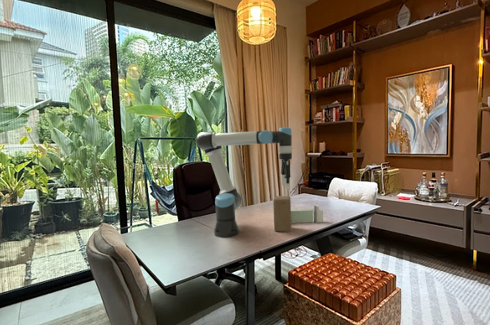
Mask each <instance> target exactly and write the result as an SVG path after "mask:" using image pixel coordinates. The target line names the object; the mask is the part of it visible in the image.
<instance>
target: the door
mask: <svg viewBox="0 0 490 325" xmlns="http://www.w3.org/2000/svg"><path fill="white" fill-rule="evenodd" d="M292 223H293V224H294V223H295V224H296V223H314V209H299V210H298V209H297V210H295V209H294V210H293V209H291V224H292Z"/></svg>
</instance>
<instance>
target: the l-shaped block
mask: <svg viewBox="0 0 490 325" xmlns="http://www.w3.org/2000/svg"><path fill="white" fill-rule="evenodd" d="M319 206H320V205H313V223H323V222H324V210H323V209H319Z"/></svg>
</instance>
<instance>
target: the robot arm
mask: <svg viewBox="0 0 490 325" xmlns="http://www.w3.org/2000/svg"><path fill="white" fill-rule="evenodd" d="M292 136H293V135H292V128H291V127H279V130H278V131H277V130H275V131H274V130H273V131H271V130H267V129H265V130H253V131H252V130H251V131H238V132H237V131H236V132H222V133H221V132H220V133H217V132H216V131H207V130H206V131H205V130H204V131H201V132H199V133H197V135H196V137H195V143H196V145H197V147H198V148H199V149H201V150H203V151H204V154H205V155H206V156H208V158H209V161H210V164H211V167H212V170H213V173H214V175H215V179H216V181H217V184H218V186H219V189H220V190H219V193H218V195H216V197H215V198H214V199H215V201H214V204H215V216H216V217H215V219H216V221H215V225H214V229H213V234H215V235H214V236H216V237H219V236H220V237H219V238H228V237H229V238H230V237H234V236H237V235H238V234H239V233H240V232H239V230H240V228H239V225H238V223H237V221H236V210H237V209H239V208H240V206H241V204H242V199H243V198H242V196H241V193H239V192H238V190H237V188H236V186H233V183H232V180H231V177H230V174H229V171H228V168H227V165H226V163H225V160H224V157H223V153H222V150H223V146H224V147H226V146H229V147H230V146H242V145H243V146H246V145H248V146H249V145H267V144H268V145H269V144H279V145H278V146H279V147H278V148H279V149H278V152H279V153H278V155H279V156H278V158H279V160H281V167H280V168H281V169H280V174H281V186H284V189H285V190H288V189H291V177H292V175H291V167H290V166H291V165H290V164H291V163H290V161H289V160H292V158H293V157H292V149H293V147H292V144H293V142H292V141H293V140H292Z"/></svg>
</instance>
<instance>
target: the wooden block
mask: <svg viewBox="0 0 490 325" xmlns="http://www.w3.org/2000/svg"><path fill="white" fill-rule="evenodd" d="M272 202H273V206H272V207H273V226H274V227H273V229H274V231H275V232H287V233H288V232H291V231H292V223H291V210H292V209H291V207H292V206H291V203H292V202H291V196H288V195H287V196H285V195H283V196H282V195H279V196H278V195H276V196H274V198H273V200H272Z"/></svg>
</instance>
